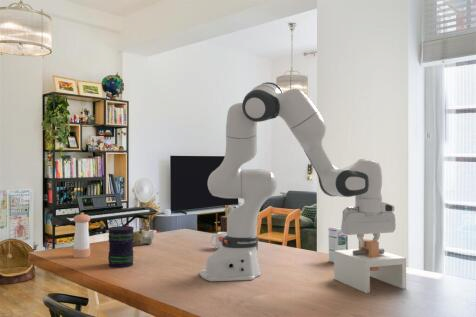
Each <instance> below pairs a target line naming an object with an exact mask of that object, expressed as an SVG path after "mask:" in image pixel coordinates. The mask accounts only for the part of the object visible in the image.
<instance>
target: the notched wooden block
mask: <svg viewBox="0 0 476 317" xmlns="http://www.w3.org/2000/svg"><path fill="white" fill-rule="evenodd" d="M363 240H364V242H366V247H360V241H359V240H358V249H359V250H367V249H369V258H373V257H379V249H380V246H379V244H380V242H379V241H373V239H368V238H363ZM362 256H366V257H368V254H365V255H362ZM377 270H379V266H378V267H370V271H377Z"/></svg>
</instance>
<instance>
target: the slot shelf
mask: <svg viewBox="0 0 476 317" xmlns="http://www.w3.org/2000/svg"><path fill="white" fill-rule="evenodd" d="M365 254H368V257H366V256H362V255H365ZM378 266H379V270H377V271H370V267H378ZM370 277H371V278H374V279H376V280H379V281H382V282H383V283H387V284H389V285H392V286H394V287H396V288H400V289H404V290H405V289H407V257H405V256H401V255H397V254H393V253H390V252H386V251H385V248H383V247H382V248H379V257H373V258H369V249H367V250H359V248H353V249H348V250H337V251H334V263H333V279H334V280H336V281H338V282H341V283H343V284H345V285H346V286H349V287H352V288H353V289H356V290H359V291H360V292H362V293H365V294H367V293H368V294H369V293H371V284H370V283H371V278H370Z"/></svg>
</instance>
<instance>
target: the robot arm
mask: <svg viewBox="0 0 476 317" xmlns="http://www.w3.org/2000/svg"><path fill="white" fill-rule="evenodd" d="M277 117H279V118H281V119H283V121H284V122H285V123H286V125H287V126H288V129H289V131H291V133H292V135H293V136H294V137H295V139H296V140H297V141H298V143H299V144H300V146H301V147H302V149H303V152H304V153H305V155H306V157H307V158H308V160H309V162H310V164H311V165H312V167H313V169H314V171H315V172H316V175H317V179H318V183H319V188H320V190H321V191H322V192H323V193H324V195H327V196H329V197H342V198H351V197H355V198H354V199H355V200H354V202H355V203H354V204H355V206H347V207H345V208H344V209H343V210H342V218H341V225H340V227H341V231H342V233H343V234H347V235H348V236H350V235H351V236H352V235H356V237H357V239H358V240H357V241H358V242H359V241H360V247H366V242H364V240H363V239H364V238H365V235H372V236H373V237H372V240H373V241H377V242H379V239H380V238H381V234H390V233H394V232H395V230H396V215H395V213H394V212H395V209H396V208H395V205H393V204H391V203H388V202H385V201H383V195H382V186H383V174H382V168H381V165H380V163H379V162H378V161H376V160H373V159H367V158H366V159H365V158H362V159H358V160H357V161H356V162H354V163H353V164H351V165H349V166H346V167H344V168H338V167H336V166H334V165H333V163H332V161H331V159H330V158H329V156H328V154H327V153H326V150H325V149H324V147H323V139H324V137H325V135H326V131H327V125H326V123H325V121H324V119H323V117H322V115H321V113H320V112H319V111H318V109H317V108H316V106H315V105H314V103H313V102H312V101H311V100H310V98H309V97H308V96H307V95H306V94H305V93H304V92H303V90H301V89H299V88H291V89H288V90H286V91H285V92H284V91H283V90H282V88H281V87H280V86H279V85H278V84H277V83H274V82H264V83H261V84H259V85H257V86H255V87H253V88H252V89H251V91H249V92H248V93H247V94H246V95H245V96H244V98H243V100H242V102H238V103H235V104H233V105H231V106H230V107H229V108H228V110H227V115H226V123H225V153H224V154H225V155H224V158H223V160H222V161H221V163H220V165H219V166H218V167H217V168H215V170H212V172H210V175H209V176H208V179H207V188H208V191H209V193H210V194H211V196H213V197H217V198H222V199H242V200H244V201H243V203H242V204H241V205H240V206H237V207H236V208H234V209H231V211H230V212H228V214H227V218H226V232H227V235H226V236H225V237H222V236H219V241H220V242H222V246H221V247H220V248H219V249H218V248H217V250H215V251H214V252H213V253H211V254H210V255H209V256H208V257H207V260H206V264H205V269H201V270H200V271H199V276H200V277H201V278H202V279H203V280H206V281H209V282H226V281H227V282H228V281H252V280H254V279H255V278H256V277H259V276H261V275H262V273H261V269H260V265H259V260H258V247H259V239H258V238H259V237H258V234H257V229H258V228H257V226H258V216H259V213H260V210H261V208H262V206H263V204H265V202H266V201H267V200H268V199H270V198H271V197H272V196H273V195H274V194H275V192H276V190H277V186H278V182H277V178H276V176H275V174H274V173H273V172H272V171H269V170H265V169H258V168H240V167H242V166H243V164H246V163H248V162H250V161H252V160H253V159H255V157H256V156H257V152H258V151H257V149H258V148H257V146H258V143H257V142H258V141H257V140H258V136H257V135H258V134H257V132H258V130H257V129H258V128H257V127H258V122H259V123H261V122H266V121H269V120H273V119H276V118H277Z"/></svg>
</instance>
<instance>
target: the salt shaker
mask: <svg viewBox="0 0 476 317" xmlns="http://www.w3.org/2000/svg"><path fill="white" fill-rule="evenodd" d="M73 221H74V223H75V231H74V235H73V236H74V237H73V248H72V258H75V259H77V258H78V259H79V258H80V259H81V258H89V257H90V256H91V247H90V242H91V240H90V239H91V238H90V232H89V224H90V223H89V222H90V221H91V216H90V215H89V214H85V212H80V213H79V214H76V215H74V217H73Z"/></svg>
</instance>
